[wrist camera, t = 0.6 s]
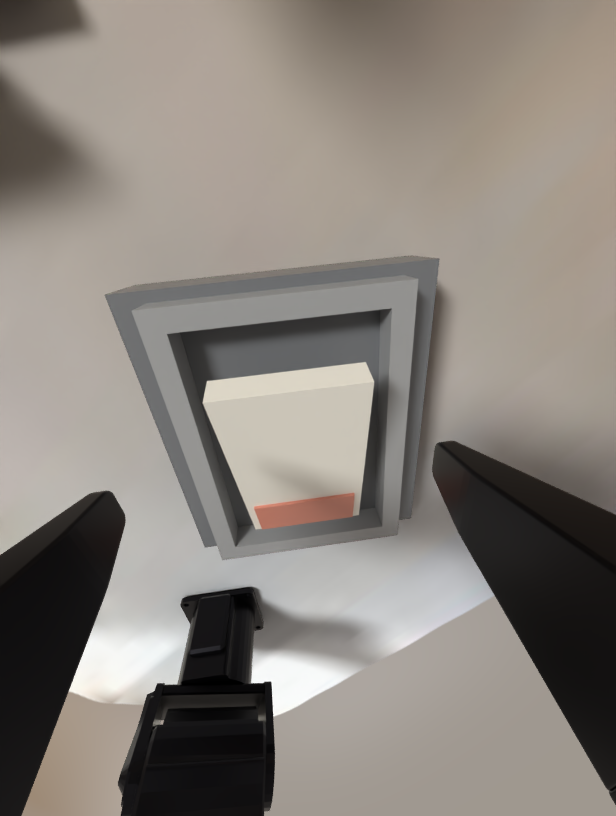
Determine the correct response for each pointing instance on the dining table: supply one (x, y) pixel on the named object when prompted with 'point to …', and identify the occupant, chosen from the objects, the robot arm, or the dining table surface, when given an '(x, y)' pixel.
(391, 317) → the frame
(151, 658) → the dining table surface
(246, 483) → the breaker switch
